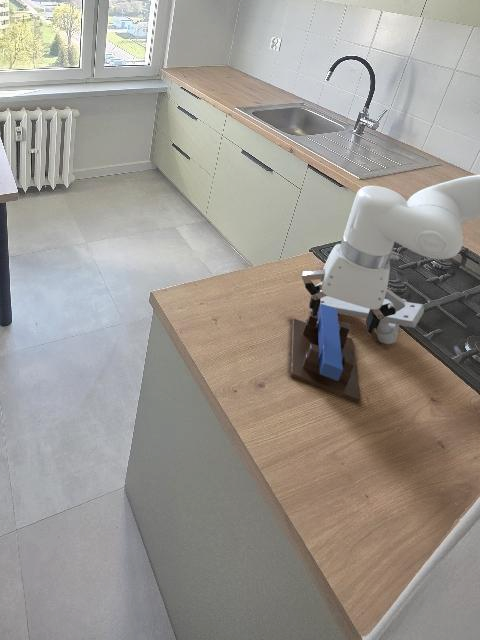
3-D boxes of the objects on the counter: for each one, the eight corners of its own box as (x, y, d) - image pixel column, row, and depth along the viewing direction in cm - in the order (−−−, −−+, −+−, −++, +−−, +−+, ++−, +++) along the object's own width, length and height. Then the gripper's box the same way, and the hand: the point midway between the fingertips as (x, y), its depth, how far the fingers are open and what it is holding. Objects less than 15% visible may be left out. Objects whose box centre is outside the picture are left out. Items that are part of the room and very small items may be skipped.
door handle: (324, 335, 100) (424, 359, 84) (314, 303, 100) (412, 321, 84) (353, 298, 111) (447, 313, 94) (344, 270, 110) (437, 280, 94)
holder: (350, 341, 92) (359, 320, 89) (358, 402, 80) (368, 379, 77) (292, 321, 97) (299, 300, 94) (290, 376, 84) (298, 353, 81)
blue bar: (333, 319, 93) (337, 308, 91) (338, 381, 79) (343, 369, 78) (317, 314, 94) (321, 303, 92) (319, 374, 80) (324, 362, 79)
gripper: (415, 252, 76) (388, 321, 83) (311, 226, 83) (293, 292, 89) (426, 279, 70) (395, 351, 77) (312, 249, 76) (293, 317, 83)
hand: (340, 319), depth 83 cm, fingers open, 9 cm apart
